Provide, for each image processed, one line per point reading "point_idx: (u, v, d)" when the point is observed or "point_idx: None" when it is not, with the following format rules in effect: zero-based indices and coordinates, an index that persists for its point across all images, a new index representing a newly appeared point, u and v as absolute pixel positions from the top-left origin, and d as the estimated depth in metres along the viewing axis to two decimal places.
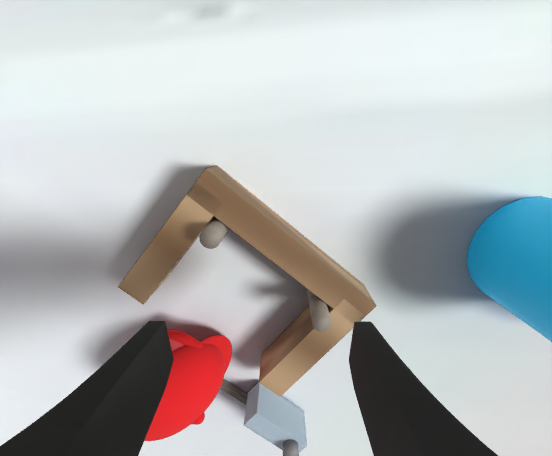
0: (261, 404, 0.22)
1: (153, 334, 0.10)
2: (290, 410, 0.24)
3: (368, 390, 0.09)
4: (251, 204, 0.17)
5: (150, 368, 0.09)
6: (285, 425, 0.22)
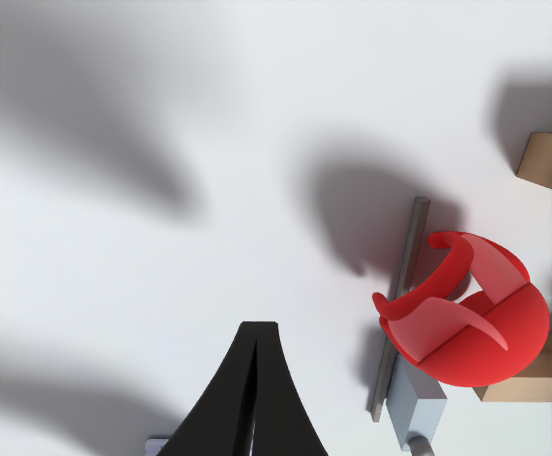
0: None
1: (256, 334, 0.10)
2: None
3: None
4: None
5: (255, 369, 0.09)
6: None
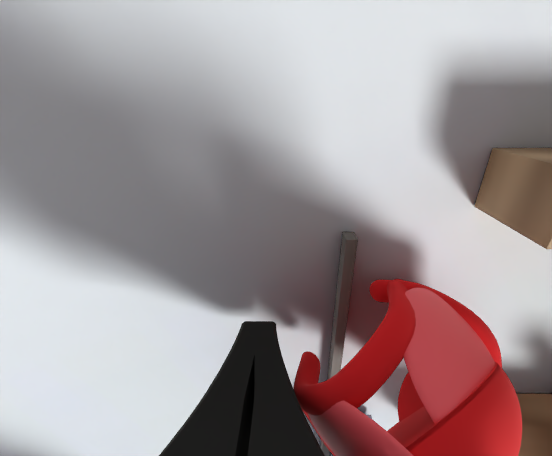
0: None
1: (258, 334, 0.10)
2: None
3: None
4: None
5: None
6: None
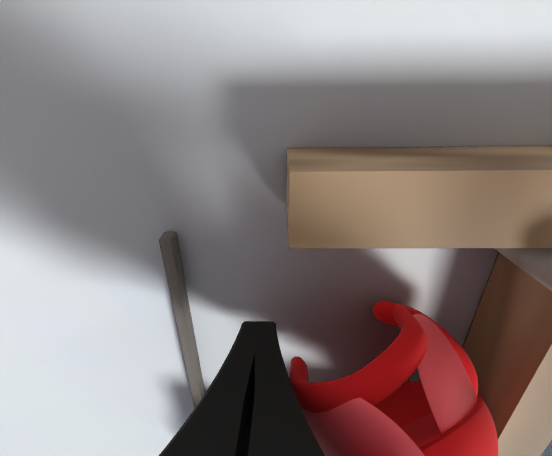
0: None
1: (258, 334, 0.10)
2: None
3: None
4: None
5: None
6: None
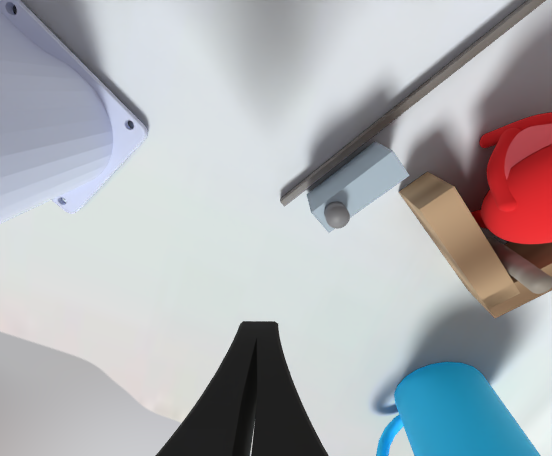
0: None
1: (256, 334, 0.10)
2: None
3: None
4: None
5: (255, 369, 0.09)
6: None
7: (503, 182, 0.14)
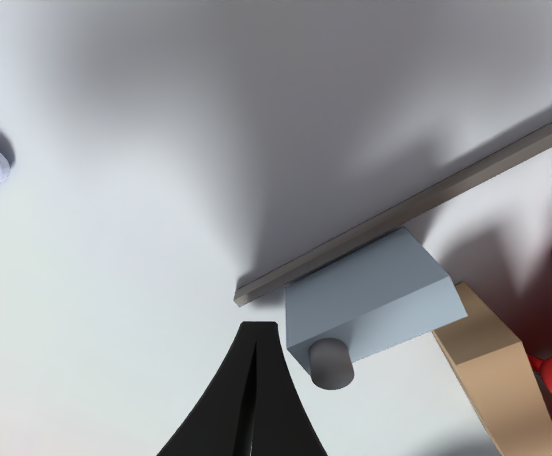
0: None
1: (256, 334, 0.10)
2: None
3: None
4: None
5: (255, 368, 0.09)
6: None
7: None
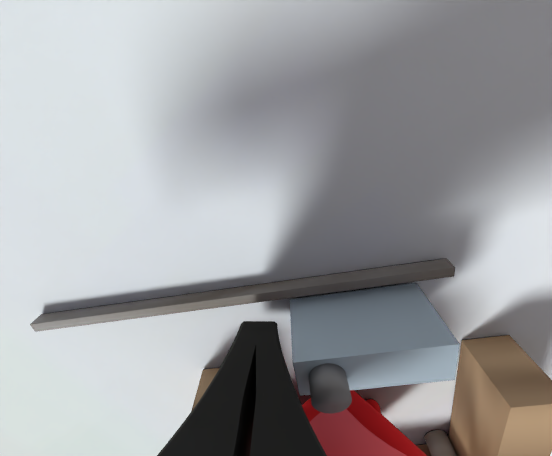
0: None
1: (256, 334, 0.10)
2: None
3: None
4: None
5: (255, 369, 0.09)
6: None
7: None
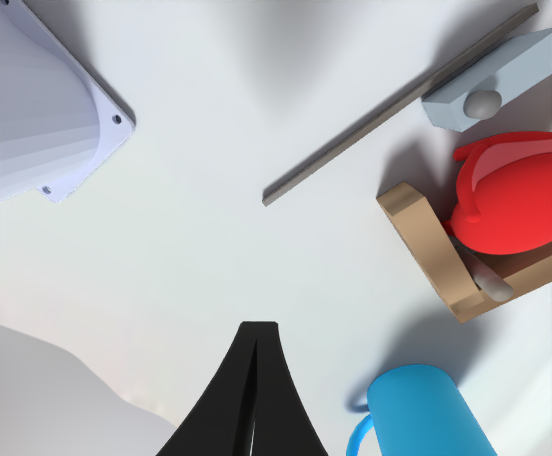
0: None
1: (256, 334, 0.10)
2: None
3: None
4: None
5: (255, 369, 0.09)
6: None
7: (470, 194, 0.15)
